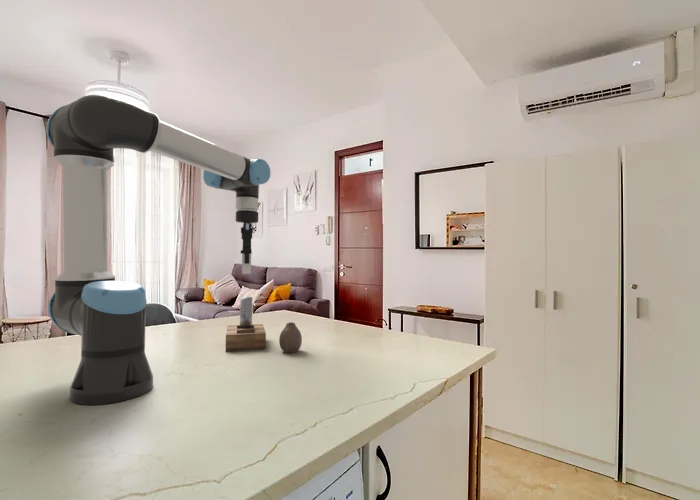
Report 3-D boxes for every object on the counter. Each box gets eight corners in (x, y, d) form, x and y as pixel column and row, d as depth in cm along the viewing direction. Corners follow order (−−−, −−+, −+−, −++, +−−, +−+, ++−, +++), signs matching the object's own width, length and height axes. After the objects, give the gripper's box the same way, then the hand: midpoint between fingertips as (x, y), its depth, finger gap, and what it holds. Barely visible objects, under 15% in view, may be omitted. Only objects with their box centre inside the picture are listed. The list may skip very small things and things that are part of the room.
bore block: (265, 349, 119) (265, 333, 119) (225, 351, 115) (225, 335, 115) (262, 338, 134) (262, 324, 134) (227, 339, 130) (227, 325, 131)
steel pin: (251, 339, 127) (252, 298, 127) (239, 340, 126) (240, 298, 126) (251, 337, 131) (252, 296, 131) (239, 337, 130) (240, 297, 130)
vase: (299, 354, 113) (300, 325, 113) (277, 354, 113) (277, 324, 113) (303, 348, 120) (303, 321, 120) (281, 348, 120) (282, 320, 120)
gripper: (260, 207, 118) (259, 274, 118) (256, 215, 142) (255, 271, 142) (235, 205, 116) (234, 274, 116) (236, 214, 140) (235, 271, 139)
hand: (246, 272), depth 129 cm, fingers open, 13 cm apart
